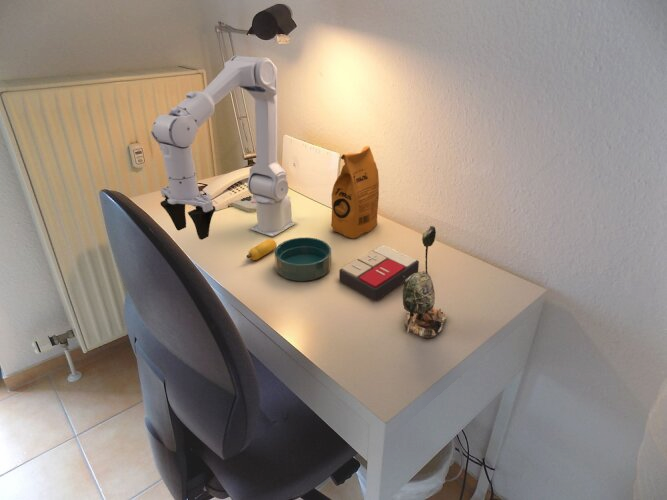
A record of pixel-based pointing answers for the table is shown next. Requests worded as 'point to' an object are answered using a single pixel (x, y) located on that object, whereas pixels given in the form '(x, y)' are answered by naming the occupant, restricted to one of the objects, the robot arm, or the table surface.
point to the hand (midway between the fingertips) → (192, 233)
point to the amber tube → (262, 249)
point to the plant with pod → (422, 298)
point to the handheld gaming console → (246, 204)
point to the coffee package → (356, 195)
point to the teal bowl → (303, 259)
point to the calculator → (378, 271)
